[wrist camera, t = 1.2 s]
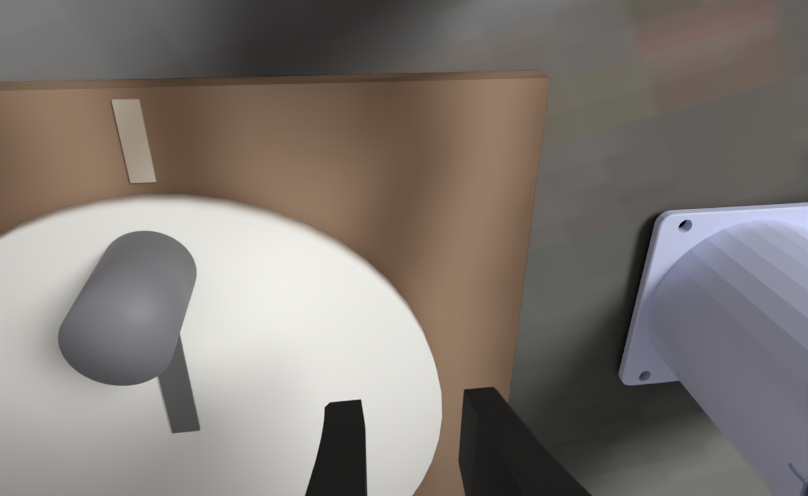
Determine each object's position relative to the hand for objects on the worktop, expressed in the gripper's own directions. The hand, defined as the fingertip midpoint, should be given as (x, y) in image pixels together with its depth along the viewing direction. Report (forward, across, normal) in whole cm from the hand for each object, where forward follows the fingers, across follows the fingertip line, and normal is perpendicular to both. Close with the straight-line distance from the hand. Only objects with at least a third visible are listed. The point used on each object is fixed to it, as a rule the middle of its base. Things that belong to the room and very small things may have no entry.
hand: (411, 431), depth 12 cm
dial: (+8, +7, +7) cm, 13 cm away
